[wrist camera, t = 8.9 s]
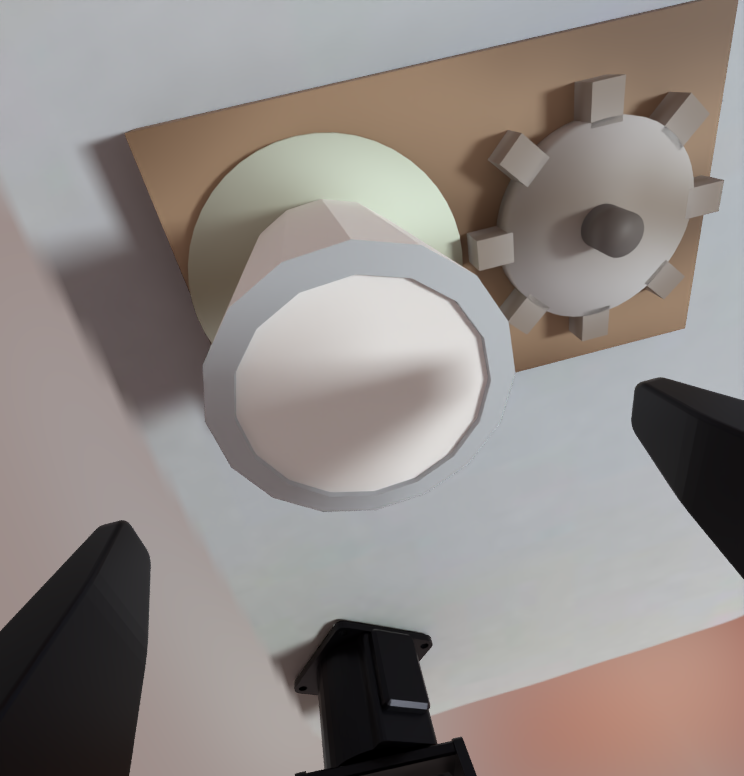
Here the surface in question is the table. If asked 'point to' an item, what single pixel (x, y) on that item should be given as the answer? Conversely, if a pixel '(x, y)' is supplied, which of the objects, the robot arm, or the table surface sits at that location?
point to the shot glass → (354, 362)
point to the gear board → (483, 173)
